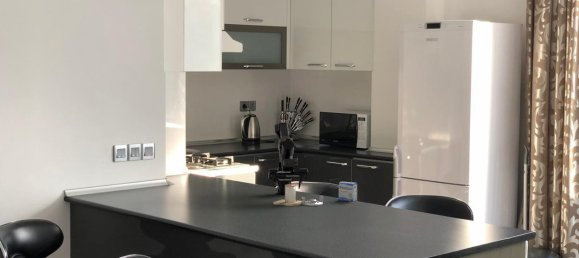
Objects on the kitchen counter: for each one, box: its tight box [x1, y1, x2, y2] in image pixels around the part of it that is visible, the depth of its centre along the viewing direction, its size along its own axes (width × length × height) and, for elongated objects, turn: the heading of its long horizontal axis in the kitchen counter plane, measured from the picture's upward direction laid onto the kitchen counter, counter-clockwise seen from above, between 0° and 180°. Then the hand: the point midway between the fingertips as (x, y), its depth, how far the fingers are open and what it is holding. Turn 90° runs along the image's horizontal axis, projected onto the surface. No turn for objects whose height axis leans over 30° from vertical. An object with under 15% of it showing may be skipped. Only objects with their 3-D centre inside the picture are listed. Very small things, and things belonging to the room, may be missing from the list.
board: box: [273, 198, 302, 207], centre depth 375 cm, size 11×9×1 cm
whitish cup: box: [284, 183, 297, 203], centre depth 373 cm, size 5×5×8 cm
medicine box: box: [338, 181, 358, 202], centre depth 385 cm, size 8×4×9 cm, turn 62°
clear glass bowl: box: [301, 195, 324, 207], centre depth 374 cm, size 10×10×4 cm
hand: (289, 188), depth 377 cm, fingers open, 9 cm apart
